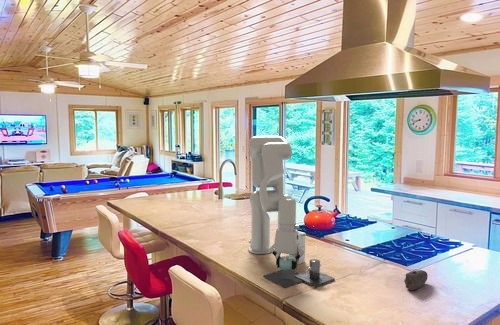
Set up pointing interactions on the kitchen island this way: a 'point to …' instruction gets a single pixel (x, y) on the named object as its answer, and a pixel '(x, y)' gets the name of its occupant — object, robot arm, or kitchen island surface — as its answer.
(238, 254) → the kitchen island surface
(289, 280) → the pad
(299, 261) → the syrup box
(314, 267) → the dark grey square-based fixture
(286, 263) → the cap
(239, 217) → the kitchen island surface
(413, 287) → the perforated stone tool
